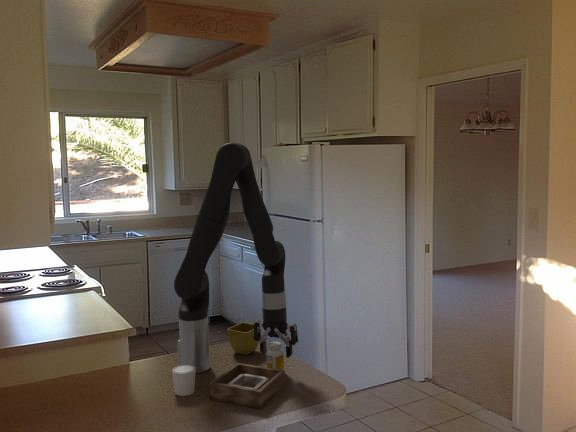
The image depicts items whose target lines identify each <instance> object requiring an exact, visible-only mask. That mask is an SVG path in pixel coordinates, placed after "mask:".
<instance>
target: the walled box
mask: <svg viewBox="0 0 576 432" xmlns="http://www.w3.org/2000/svg"><path fill="white" fill-rule="evenodd" d="M285 372H286V370H285V369H284V370H279V369H273V368H267V366H260V365H259V366H258V365H254V364H253V365H252V364H247V363H240V362H237V363H235V364H234V365H233V366H231V367H230V368H229V369H227V370H226V371H224V372H223V373H221V374H220V375H219V376H217V377H216V378H214V379H213V380H211V382H209V400H210V401H215V402H220V403H222V404H230V405H233V406H240V407H245V408H250V409H255V410H262V409H263V408H264V407H265V406H266V405H267V404H268V403H269V402H271V400H272V399H273V398H274V397H276V396H277V395H278V394H279V393H280V392H281V391H282V390H283V389H284V388H286V376H285V374H286V373H285Z"/></svg>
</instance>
